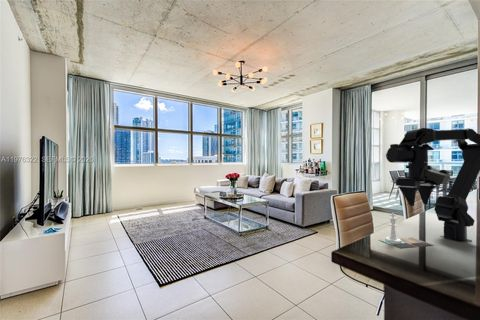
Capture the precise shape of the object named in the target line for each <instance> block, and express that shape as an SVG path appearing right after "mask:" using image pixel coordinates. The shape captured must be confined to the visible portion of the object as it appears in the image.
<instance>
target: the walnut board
mask: <svg viewBox="0 0 480 320" xmlns="http://www.w3.org/2000/svg"><path fill="white" fill-rule="evenodd" d="M399 239H400V240H402V241H403V242H405V243H407V244H410V245H412V244H411V243H421V242H426V243H429V244H432V245H433V246H432V247H436V246H437V245H436V244H433V243H430V242H427V241H423V240H421V239H417V238H415V237H402V238H399ZM380 240H381V239H378V241H379V242H381V243H383V244H386V245H388V246H391V247H393V248H396V249H398V250H401V249H402V250H403V249H406V248H398V247H396V246H393V245H390V244H387V243H385V242H382V241H380ZM395 245H397V244H395ZM413 246H415V245H413ZM424 247H428V246H422V247H421V248H424ZM414 248H419V247H418V246H416V247H411V248H410V249H414Z"/></svg>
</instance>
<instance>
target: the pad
mask: <svg viewBox="0 0 480 320" xmlns="http://www.w3.org/2000/svg"><path fill="white" fill-rule="evenodd" d="M379 240H380V241H379V242H381V241H382V242H381V243H383V242H385V243H384V244H386V243H387V244H386V245H388V244H390V245H389V246H391V245H395V243H390V242H387V241H385V238H384V239H379ZM401 244H407V243H405V242H403V241H402V243H401Z"/></svg>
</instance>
